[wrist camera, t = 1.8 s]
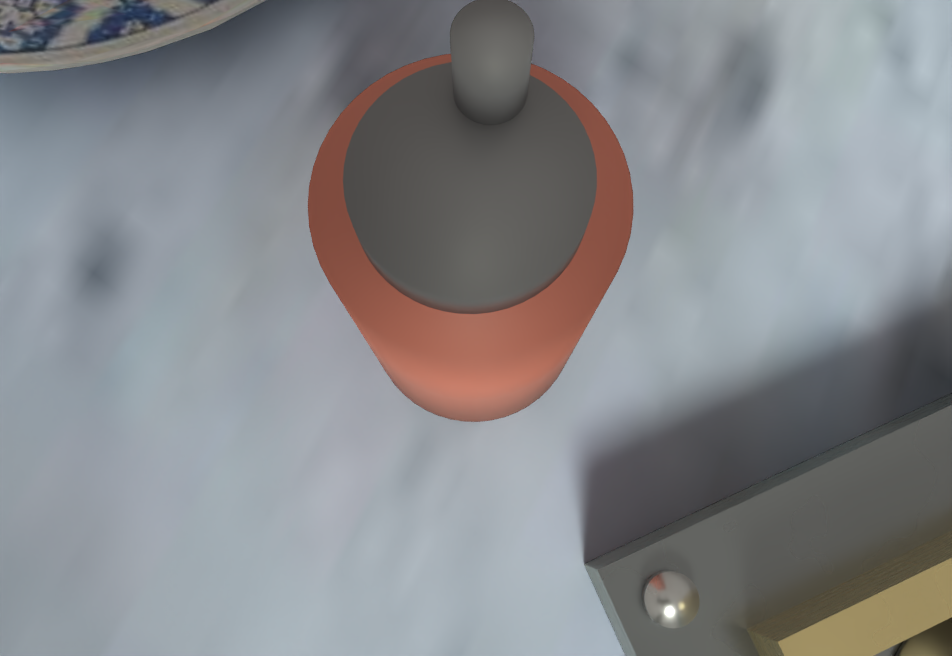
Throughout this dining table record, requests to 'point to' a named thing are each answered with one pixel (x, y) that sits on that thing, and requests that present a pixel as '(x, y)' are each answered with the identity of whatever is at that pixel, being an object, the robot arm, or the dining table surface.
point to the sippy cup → (472, 218)
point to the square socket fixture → (803, 558)
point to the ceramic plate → (100, 29)
